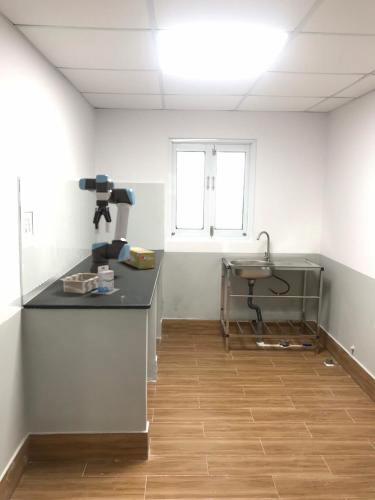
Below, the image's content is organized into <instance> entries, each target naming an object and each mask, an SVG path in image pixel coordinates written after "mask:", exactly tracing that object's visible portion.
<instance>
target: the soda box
mask: <svg viewBox="0 0 375 500" xmlns="http://www.w3.org/2000/svg"><path fill="white" fill-rule="evenodd" d="M122 261H123V263H125V264H128V265H130V266H132V267H134V268H137V269H139V270H143V269H155V268H156V252H155V251H153V250H148V249H146V248H143V247H140V246H130V253H129V256H128V258H127V259H126V260H122Z"/></svg>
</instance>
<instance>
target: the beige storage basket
mask: <svg viewBox="0 0 375 500" xmlns="http://www.w3.org/2000/svg"><path fill="white" fill-rule="evenodd" d="M59 281H62V282H63V292H65V293H73V294H82V295H83V294H86V293H88V292H92V291H93V290H96V289H98V274H94V273H90V272H83V273H81V272H78V273H75V274H73V275H72V274H71V275H69V276H66V277H64V278H63V277H62V278H60V279H59Z"/></svg>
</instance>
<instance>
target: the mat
mask: <svg viewBox="0 0 375 500" xmlns="http://www.w3.org/2000/svg"><path fill="white" fill-rule="evenodd" d="M120 290H121V289H120V288H114V290H111V291H106V292H100V291H98V289H94V291H93V290H92V291H90V294H95V295H96V294H97V295H104V296H105V295H106V296H110V295H112V294H115V293H116V292H118V291H120Z"/></svg>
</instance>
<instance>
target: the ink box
mask: <svg viewBox="0 0 375 500" xmlns="http://www.w3.org/2000/svg"><path fill="white" fill-rule="evenodd" d="M109 266H110V265H109ZM109 266H108V265H105V266H99V267H98V288H97V290H98V291H100V292H106V291H111V290H114V289H115V287H114V285H115V276H114V273H115V271H114V270H109ZM103 267H104V268H105V269H102V268H103Z"/></svg>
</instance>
